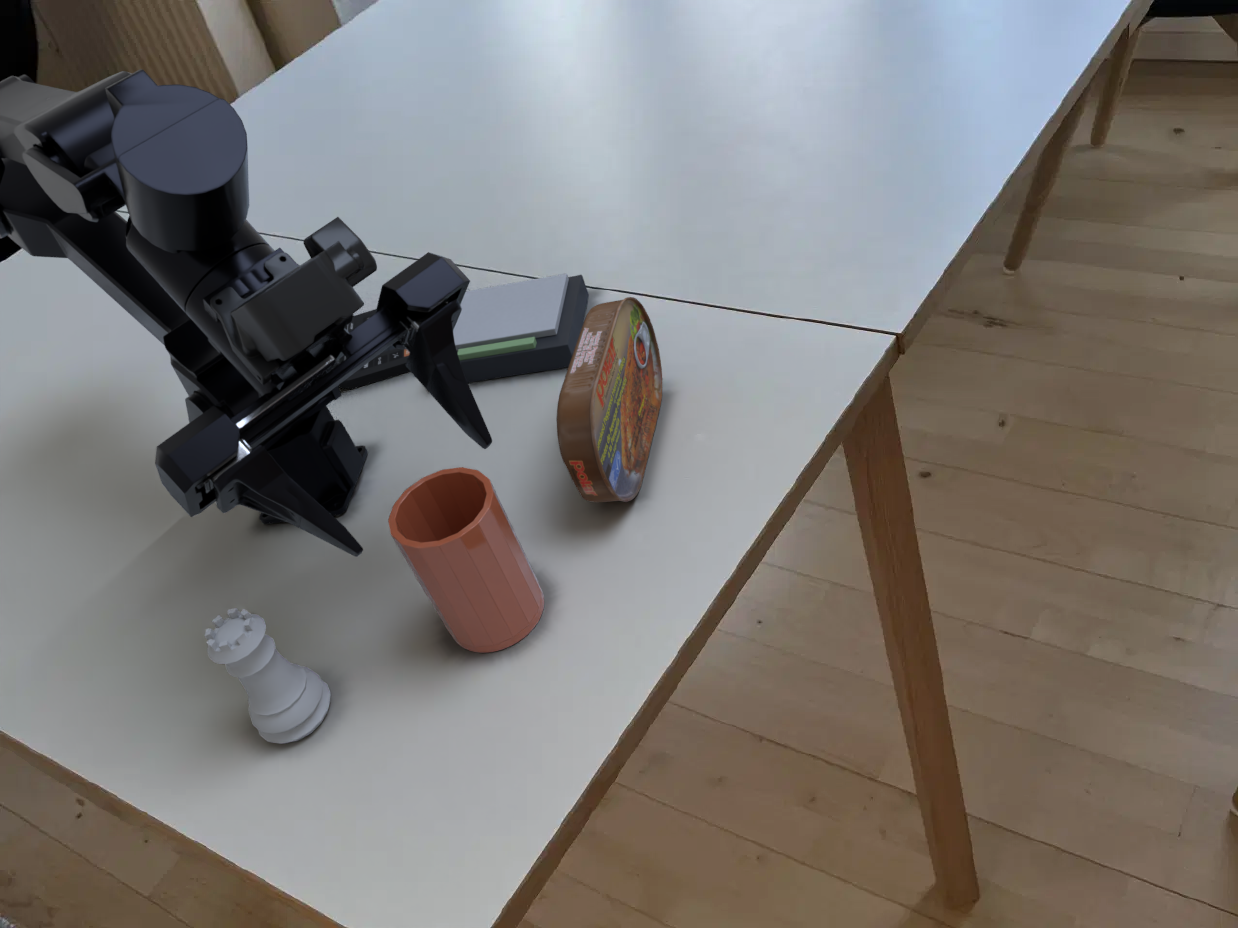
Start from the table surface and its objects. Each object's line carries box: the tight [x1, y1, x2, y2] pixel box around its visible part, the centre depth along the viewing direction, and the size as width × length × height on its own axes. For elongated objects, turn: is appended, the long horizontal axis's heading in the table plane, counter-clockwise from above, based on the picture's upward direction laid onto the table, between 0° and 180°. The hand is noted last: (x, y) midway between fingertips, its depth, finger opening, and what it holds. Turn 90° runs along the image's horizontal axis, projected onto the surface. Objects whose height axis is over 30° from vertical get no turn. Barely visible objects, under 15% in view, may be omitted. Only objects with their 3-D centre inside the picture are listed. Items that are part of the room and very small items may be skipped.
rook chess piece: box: [204, 607, 332, 744], centre depth 58 cm, size 4×4×8 cm
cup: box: [387, 466, 545, 654], centre depth 59 cm, size 6×6×9 cm
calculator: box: [332, 308, 411, 390], centre depth 86 cm, size 9×12×3 cm
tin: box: [556, 296, 663, 503], centre depth 67 cm, size 15×3×8 cm, turn 168°
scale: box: [453, 273, 590, 384], centre depth 82 cm, size 11×9×3 cm
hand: (426, 497), depth 57 cm, fingers open, 9 cm apart
